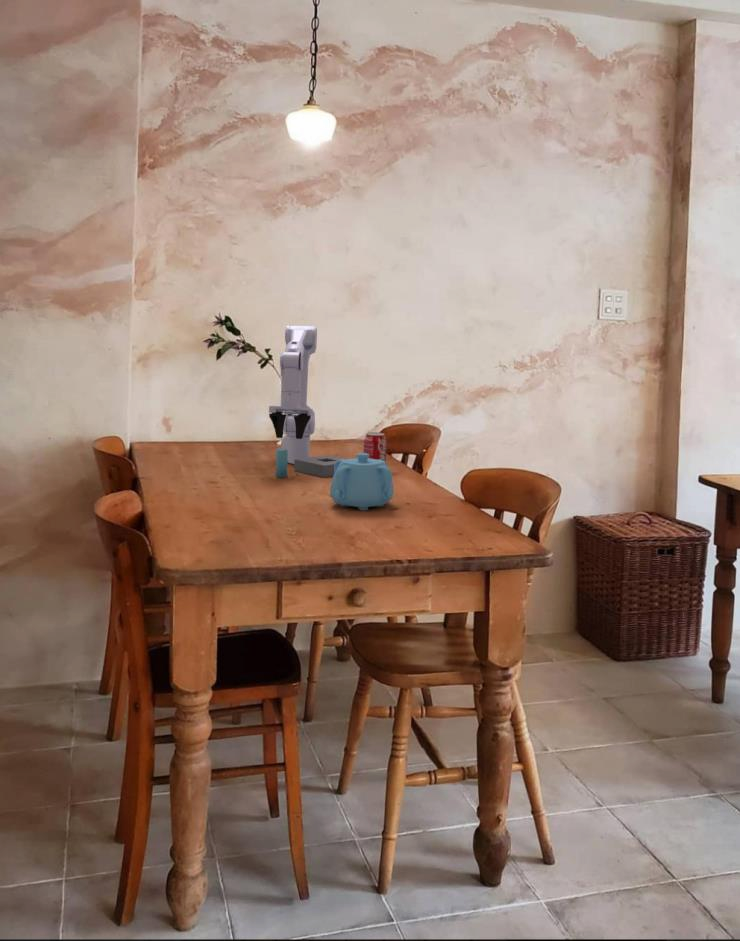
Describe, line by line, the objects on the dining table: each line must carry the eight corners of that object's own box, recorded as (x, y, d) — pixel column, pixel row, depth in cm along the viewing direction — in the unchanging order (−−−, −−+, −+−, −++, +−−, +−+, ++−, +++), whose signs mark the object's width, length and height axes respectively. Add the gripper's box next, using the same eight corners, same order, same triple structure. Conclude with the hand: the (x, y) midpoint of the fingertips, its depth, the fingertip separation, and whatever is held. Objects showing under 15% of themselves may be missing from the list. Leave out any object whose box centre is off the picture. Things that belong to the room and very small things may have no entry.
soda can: (386, 470, 291) (387, 432, 289) (384, 474, 284) (385, 435, 282) (364, 469, 292) (365, 431, 290) (361, 473, 285) (362, 434, 283)
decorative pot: (332, 498, 248) (333, 448, 245) (392, 499, 247) (394, 449, 245) (328, 511, 232) (329, 457, 229) (392, 513, 231) (394, 459, 229)
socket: (294, 470, 286) (294, 459, 286) (328, 466, 296) (328, 455, 295) (324, 477, 276) (324, 465, 276) (358, 472, 286) (358, 461, 285)
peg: (273, 476, 277) (273, 449, 275) (282, 474, 279) (282, 448, 277) (280, 477, 274) (281, 451, 273) (289, 476, 276) (289, 450, 275)
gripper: (280, 390, 266) (278, 437, 267) (318, 393, 277) (316, 439, 277) (265, 391, 271) (263, 437, 272) (302, 394, 282) (301, 439, 282)
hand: (289, 438), depth 275 cm, fingers open, 7 cm apart
